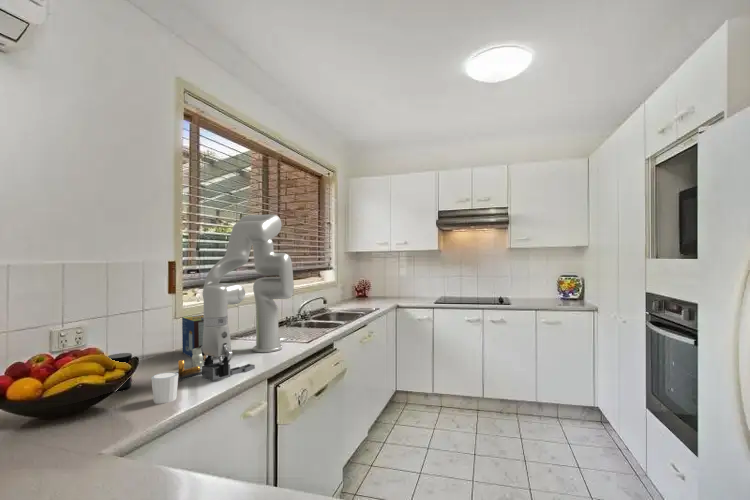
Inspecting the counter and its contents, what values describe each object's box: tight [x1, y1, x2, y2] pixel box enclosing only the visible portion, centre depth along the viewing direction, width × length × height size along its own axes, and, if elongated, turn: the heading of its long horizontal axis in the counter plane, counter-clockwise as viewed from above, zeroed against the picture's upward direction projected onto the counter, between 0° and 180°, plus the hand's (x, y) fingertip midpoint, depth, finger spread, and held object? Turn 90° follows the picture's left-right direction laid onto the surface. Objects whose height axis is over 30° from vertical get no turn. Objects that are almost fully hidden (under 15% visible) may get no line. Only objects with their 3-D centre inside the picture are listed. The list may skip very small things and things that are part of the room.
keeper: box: [176, 359, 202, 382], centre depth 134 cm, size 11×7×6 cm, turn 145°
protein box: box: [181, 314, 204, 358], centre depth 167 cm, size 10×15×16 cm
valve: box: [191, 345, 204, 368], centre depth 151 cm, size 7×7×12 cm
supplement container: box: [107, 352, 133, 393], centre depth 121 cm, size 7×7×10 cm
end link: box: [201, 361, 231, 382], centre depth 132 cm, size 6×6×4 cm
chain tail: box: [230, 363, 256, 376], centre depth 139 cm, size 10×4×1 cm, turn 145°
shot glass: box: [150, 371, 179, 405], centre depth 111 cm, size 7×7×7 cm
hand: (216, 373), depth 132 cm, fingers open, 8 cm apart
